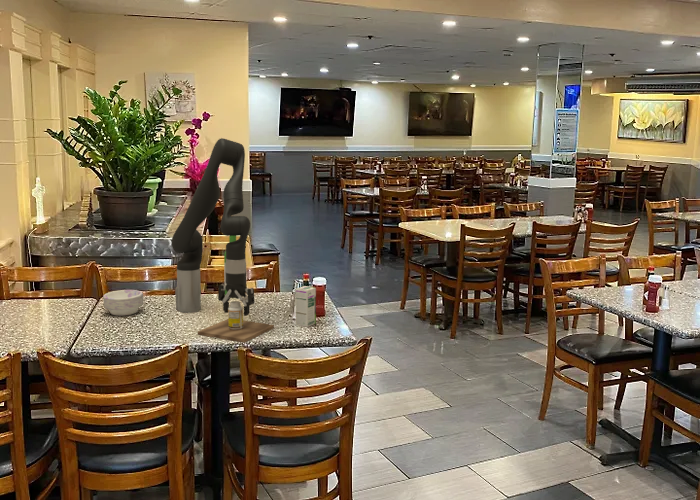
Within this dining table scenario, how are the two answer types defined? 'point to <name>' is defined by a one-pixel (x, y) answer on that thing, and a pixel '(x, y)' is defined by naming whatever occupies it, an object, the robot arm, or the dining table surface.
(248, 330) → the walnut board
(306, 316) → the syrup box
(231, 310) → the supplement bottle
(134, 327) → the dining table surface
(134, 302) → the paper bowls
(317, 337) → the dining table surface
